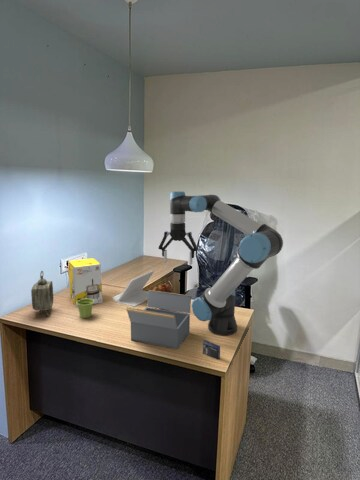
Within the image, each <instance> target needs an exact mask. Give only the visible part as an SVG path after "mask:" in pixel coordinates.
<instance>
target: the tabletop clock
mask: <svg viewBox="0 0 360 480" xmlns="http://www.w3.org/2000/svg"><path fill="white" fill-rule="evenodd" d="M39 276H40V277H39V279H38V280H37V282H35V283H34V284H33V286H32V287H31V290H30V291H31V293H30V294H31V304H32V309H33V310H35V311H38V314H42V312H43V311H44V312H45V317H49V315H50V314H49V313H48V311H47V310H52V308H53V305H54V286H53V281H51V280H50V281H49V280H47V279H46V278H44V271H43V270H41V271H40V275H39Z"/></svg>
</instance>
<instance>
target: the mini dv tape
mask: <svg viewBox="0 0 360 480" xmlns="http://www.w3.org/2000/svg"><path fill="white" fill-rule="evenodd" d="M202 354H203V355H205V356H207V357H210V358H213V359H215V360H220V359H221V345H218V344H216V343H214V342H211V341H208V340H203V341H202Z"/></svg>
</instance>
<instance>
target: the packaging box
mask: <svg viewBox="0 0 360 480" xmlns="http://www.w3.org/2000/svg"><path fill="white" fill-rule="evenodd" d="M67 263H68V264H67V265H68V268H67V269H68V280H69V281H68V283H69V285H68V286H69V297H70V301H71V302H72V304H73V305H74V307H75V308H78V305H77V301H78V300H81V299H92V300H94V302H93V305H96V304H101V303H103V291H102V290H103V289H102V288H103V287H102V264H101V262H99V261H98V260H97V259H95V258H93V257H92V258H91V257H90V258H83V259H74V260H68V261H67Z"/></svg>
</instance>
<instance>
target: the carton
mask: <svg viewBox="0 0 360 480" xmlns="http://www.w3.org/2000/svg"><path fill="white" fill-rule="evenodd" d="M143 310H147V311H153V312H160V313H166V314H172V315H175V319H176V324H177V330H176V329H170V328H164V327H159V326H153V325H147V324H141V323H136V322H130V340H131V342H132V341H133V342H139V343H141V344H142V343H143V344H149V345H154V346H159V347H165V348H168V349H169V348H170V349H174V350H178V349H179V348H180V346H181V345H182V343H183V342H184V340H185V339H186V338H187V336H188V335H189V334H190V331H191V330H190V327H191V326H190V322H191V319H190V317H191V313H185V312H179V311H172V310H166V309H159V308H153V307H147V306H146V307H145V308H144V309H143Z"/></svg>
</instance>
